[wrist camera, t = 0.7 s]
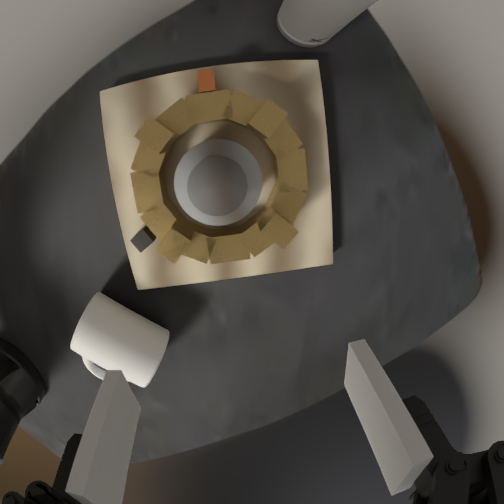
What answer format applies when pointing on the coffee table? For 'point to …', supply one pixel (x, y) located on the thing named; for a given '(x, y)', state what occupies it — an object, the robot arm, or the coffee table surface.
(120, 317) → the mug
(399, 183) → the coffee table surface
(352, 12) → the travel mug
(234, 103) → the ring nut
